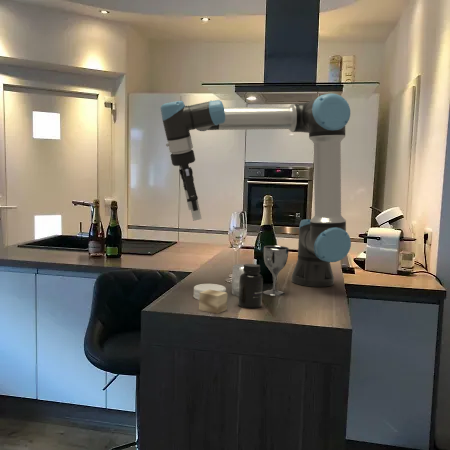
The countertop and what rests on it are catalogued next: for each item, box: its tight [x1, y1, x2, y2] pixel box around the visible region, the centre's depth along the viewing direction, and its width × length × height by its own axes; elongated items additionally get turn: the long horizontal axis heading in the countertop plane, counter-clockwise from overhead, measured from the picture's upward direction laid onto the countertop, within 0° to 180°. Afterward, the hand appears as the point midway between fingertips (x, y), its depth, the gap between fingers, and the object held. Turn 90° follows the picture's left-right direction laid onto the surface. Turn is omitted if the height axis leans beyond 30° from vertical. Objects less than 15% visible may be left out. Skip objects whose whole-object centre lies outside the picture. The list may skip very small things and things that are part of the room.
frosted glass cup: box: [231, 263, 244, 297], centre depth 157 cm, size 7×7×9 cm
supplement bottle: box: [237, 263, 264, 309], centre depth 143 cm, size 7×7×12 cm
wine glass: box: [262, 245, 289, 297], centre depth 160 cm, size 8×8×15 cm
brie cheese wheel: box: [192, 283, 227, 301], centre depth 151 cm, size 10×10×4 cm
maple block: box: [198, 289, 228, 315], centre depth 137 cm, size 6×5×5 cm
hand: (194, 214), depth 163 cm, fingers open, 13 cm apart
